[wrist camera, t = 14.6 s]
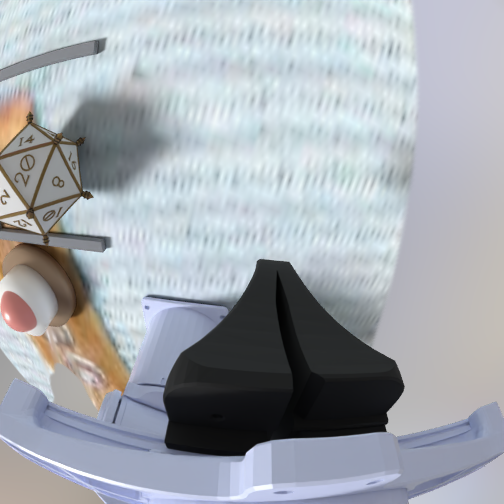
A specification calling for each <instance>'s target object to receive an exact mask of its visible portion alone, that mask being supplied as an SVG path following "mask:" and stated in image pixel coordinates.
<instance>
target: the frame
mask: <svg viewBox="0 0 504 504" xmlns="http://www.w3.org/2000/svg"><path fill="white" fill-rule="evenodd" d="M98 44H99V42H98V41H91V42H87V43H82V44H78V45H74V46H70V47H66V48H63V49H59V50H56V51H52V52H49V53H46V54H43V55H40V56H37V57H34V58H31V59H28V60H25V61H23V62H20V63H17V64H15V65H12V66H10V67H7V68H5V69H3V70H0V82H1V81H3V80H6V79H9V78H11V77H14V76H17V75H19V74H22V73H25V72H28V71H31V70H34V69H38V68H41V67H44V66H48V65H51V64H55V63H59V62H63V61H67V60H71V59H75V58H80V57H84V56H89V55H95V54H98ZM47 236H48V237H49V240H50V241H49V244H48V246H55V247H63V248H71V249H78V250H86V251H95V252H104V251H105V249H106V247H105V241H104V239H103V238H93V237H83V236H73V235H64V234H54V233H47ZM0 239H3V240H10V241H18V242H25V243H32V244H40V245H45V244H44V243H43V236H42V235H39V234H36V233H33V232H30V231H25V230H15V229H5V228H2V226H1V222H0Z"/></svg>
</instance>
